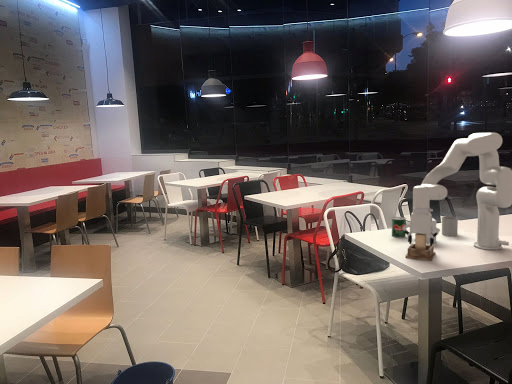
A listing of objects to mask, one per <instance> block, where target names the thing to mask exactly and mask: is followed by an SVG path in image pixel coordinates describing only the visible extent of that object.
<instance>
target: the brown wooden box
mask: <svg viewBox="0 0 512 384" xmlns="http://www.w3.org/2000/svg"><path fill="white" fill-rule="evenodd" d="M434 247H435V246H434V244H432V246H430V244H426V250H422V249H415V243H413V242H412V243H411V244H409V246H408V248H407V253H406V255H405V258H406V259H413V260H422V261H430V262H433V259H434V258H435V255H436V251H434Z"/></svg>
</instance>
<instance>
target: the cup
mask: <svg viewBox="0 0 512 384" xmlns="http://www.w3.org/2000/svg"><path fill="white" fill-rule="evenodd" d="M458 219H459V218H458V217H456V216H442V217H441V235H442V236H446V237H457V236H458V221H459V220H458Z"/></svg>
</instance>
